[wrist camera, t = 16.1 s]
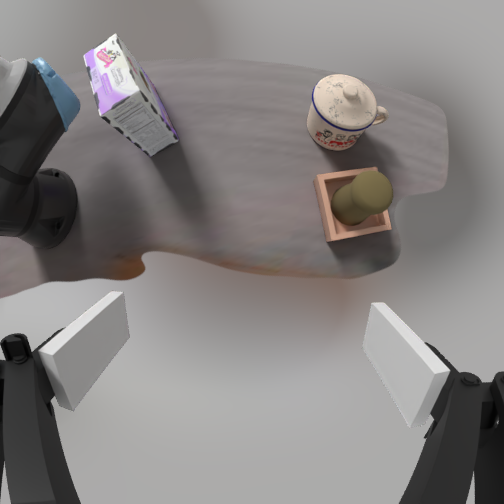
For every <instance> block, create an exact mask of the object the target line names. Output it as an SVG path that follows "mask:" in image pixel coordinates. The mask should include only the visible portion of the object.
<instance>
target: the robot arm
mask: <svg viewBox="0 0 504 504" xmlns="http://www.w3.org/2000/svg"><path fill="white" fill-rule="evenodd" d="M79 110H80V101H79V99H78V98H77V96H76V95H75V94H74V93H73V91H72V90H71V89H70V88H69V87H68V85H67V84H66V83H65V82H64V81H63V80H62V79H61V77H60V76H59V75H58V74H56V73H55V71H54V70H53V69H52V68H51V67H50V65H49V64H48V63H46V61H45V60H44V59H42V58H41V57H39V58H37V59H36V60H34V61H33V62H32V64H31V63H29V62H28V61H27V60H26V59H24V58H23V59H18V60H15V61H12V62H8V61H6V60H5V59H4V58H2V57H1V56H0V236H9V237H18V238H20V239H22V240H23V241H25V242H27V243H29V244H30V245H32V246H34V247H37V248H52V247H54V246H56V245H58V244H59V243H60V242H61V241H62V240H63V239H64V238H65V237H66V235H67V234H68V232H69V230H70V228H71V226H72V223H73V220H74V217H75V212H76V190H75V186H74V184H73V181H72V180H71V178H70V177H69V176H68V175H67V174H66V173H65V172H63V171H60V170H58V169H54V168H46V169H39V168H40V167H41V165H42V164H43V162H44V160H45V159H46V157H47V156H48V154H49V153H50V151H51V150H52V148H53V147H54V146H55V144H56V143H57V141H58V140H59V139H60V137H61V136H62V134H63V133H64V132H66V131H67V130H68V127H69V125H70V124H71V122H72V121H73V120H74V118H75V117H76V116H77V114H78V112H79ZM129 337H130V335H129V329H128V323H127V315H126V309H125V299H124V292H118V291H111V292H110V293H108V294H107V295H106V296H104V297H103V298H102V299H101V300H99V301H98V302H97V303H96V304H94V305H93V306H92V307H90V308H89V309H88V310H87V311H85V312H84V313H83V314H82V315H80V316H79V317H78V318H77V319H76V320H74V321H73V322H72V323H71V324H70V325H68V326H67V327H65V328H62V329H61V330H58V331H57V332H55V333H54V334H53V335H52V336H51V337H50V338H48V339H47V340H46V341H44V342H43V343H42V344H41V345H40V346H38V347H37V348H36V349H35V350H34V351H33V352H31V349H30V345H29V342H28V339H27V337H26V336H25V335H24V334H19V333H17V334H11V335H8V336H6V337H5V338H3V339H2V340H1V342H0V345H1V348H2V350H3V353H4V356H5V359H6V360H0V497H1V484H2V475H3V468H4V461H5V468H6V476H7V482H8V489H9V494H10V500H11V504H81V503H80V500H79V498H78V495H77V492H76V490H75V487H74V484H73V481H72V479H71V475H70V473H69V469H68V466H67V463H66V459H65V456H64V452H63V449H62V445H61V441H60V437H59V433H58V428H57V424H56V419H55V414H54V409H53V405H52V403H51V399H52V398H53V397H54V396H55V397H56V399H57V402H58V404H59V406H61V407H64V408H66V409H69V410H72V411H74V410H75V408H76V407H77V406H78V404H79V403H80V401H81V400H82V399H83V397H84V396H85V395H86V393H87V392H88V391H89V389H90V388H91V387H92V385H93V384H94V383H95V381H96V380H97V379H98V377H99V376H100V375H101V373H102V372H103V371H104V369H105V368H106V367H107V366H108V364H109V363H110V362H111V360H112V359H113V358H114V356H115V355H116V354H117V353H118V351H119V350H120V349H121V347H122V346H123V345H124V343H125V342H126V341H127V340H128V339H129ZM362 348H363V350H364V351H365V353H366V355H367V356H368V358H369V360H370V361H371V363H372V365H373V366H374V368H375V370H376V371H377V373H378V374H379V376H380V378H381V380H382V381H383V383H384V385H385V386H386V388H387V390H388V392H389V393H390V395H391V397H392V399H393V400H394V402H395V404H396V405H397V407H398V409H399V411H400V412H401V414H402V416H403V418H404V419H405V421H406V423H407V425H408V427H409V428H413V427H417V426H421V425H424V424H425V423H426V421H427V419H428V417H429V415H430V414H431V415H432V417H433V418H434V421H433V423H432V425H431V426H430V428H429V430H428V432H427V433H426V435H425V437H424V438H427V439H426V442H425V444H424V447H423V450H422V453H421V455H420V458H419V461H418V463H417V465H416V468H415V470H414V473H413V475H412V477H411V480H410V482H409V484H408V486H407V488H406V490H405V492H404V495H403V496H402V498H401V501H400V502H399V504H466V500H467V497H468V493H469V489H470V485H471V480H472V476H473V471H474V479H475V504H504V372H498V373H497V374H496V375H495V377H494V379H493V381H492V382H488V383H487V382H486V383H482V382H481V380H480V378H479V377H477V376H476V375H474V374H472V373H468V372H461V373H459V372H458V371H457V370H456V369H455V368H454V367H453V366H452V364H451V363H450V362H448V360H447V359H445V357H444V356H443V355H442V354H440V352H439V351H438V350H437V349H436V348H435V347H433V346H432V345H430V344H428V343H424V342H423V341H422V340H421V339H420V338H419V337H418V336H417V335H416V334H415V333H414V332H413V331H412V330H411V329H410V328H409V327H408V326H407V325H406V324H405V323H404V322H403V321H402V320H401V319H400V318H399V317H398V316H397V315H396V314H395V313H394V312H393V311H392V310H391V309H390V308H389V307H388V306H387V305H386V304H385V303H371V308H370V313H369V319H368V323H367V328H366V332H365V337H364V342H363V346H362ZM498 420H499V422H498V424H497V421H498Z"/></svg>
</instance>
